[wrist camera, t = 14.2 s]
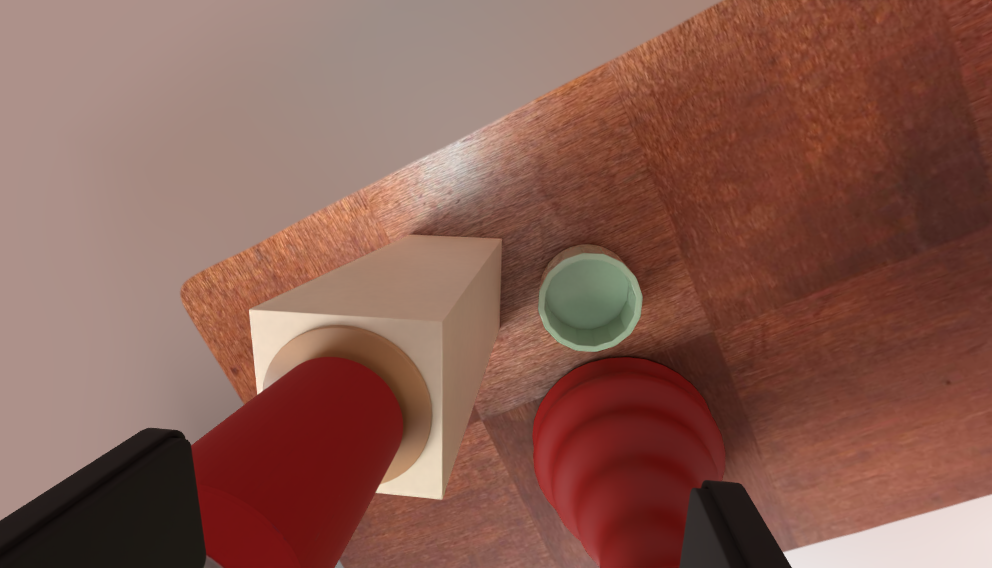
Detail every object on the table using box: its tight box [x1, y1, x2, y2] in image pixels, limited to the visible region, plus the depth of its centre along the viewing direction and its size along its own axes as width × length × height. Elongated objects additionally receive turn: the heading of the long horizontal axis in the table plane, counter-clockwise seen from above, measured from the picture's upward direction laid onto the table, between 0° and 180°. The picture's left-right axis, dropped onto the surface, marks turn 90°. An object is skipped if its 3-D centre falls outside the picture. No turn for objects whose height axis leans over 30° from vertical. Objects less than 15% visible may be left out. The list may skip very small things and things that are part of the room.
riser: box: [249, 235, 502, 499], centre depth 38 cm, size 10×10×28 cm
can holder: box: [538, 244, 643, 352], centre depth 48 cm, size 10×10×6 cm
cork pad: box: [262, 325, 433, 484], centre depth 25 cm, size 9×9×1 cm
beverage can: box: [191, 357, 403, 568], centre depth 19 cm, size 7×7×12 cm
